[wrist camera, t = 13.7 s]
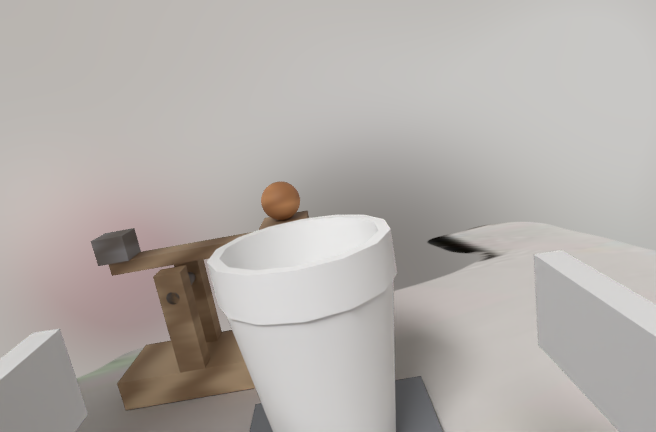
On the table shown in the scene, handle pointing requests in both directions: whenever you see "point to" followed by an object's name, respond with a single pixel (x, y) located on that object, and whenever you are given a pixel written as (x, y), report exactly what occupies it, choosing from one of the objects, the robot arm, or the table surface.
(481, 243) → the table surface
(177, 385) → the catapult
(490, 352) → the table surface
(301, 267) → the foam cup
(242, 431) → the table surface
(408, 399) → the mat
